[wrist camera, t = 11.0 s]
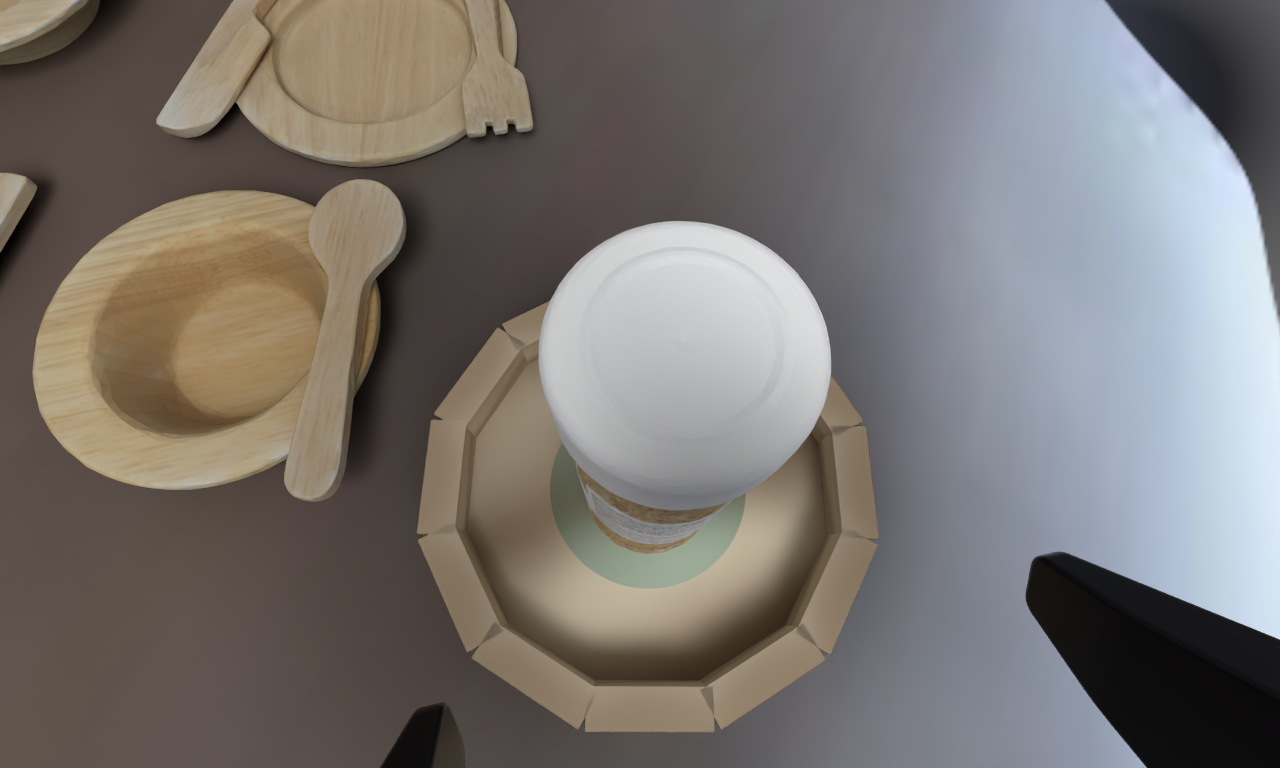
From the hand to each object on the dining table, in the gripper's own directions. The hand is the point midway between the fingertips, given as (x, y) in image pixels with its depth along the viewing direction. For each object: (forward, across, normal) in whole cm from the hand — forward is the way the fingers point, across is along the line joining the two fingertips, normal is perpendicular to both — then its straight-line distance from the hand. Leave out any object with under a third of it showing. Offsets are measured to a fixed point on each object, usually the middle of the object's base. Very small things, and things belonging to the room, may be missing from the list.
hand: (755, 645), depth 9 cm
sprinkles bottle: (+12, 0, +5) cm, 13 cm away
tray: (+12, 0, +6) cm, 14 cm away
